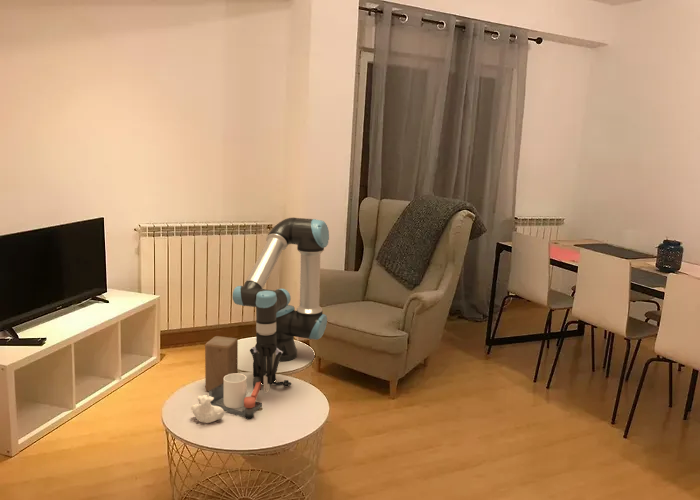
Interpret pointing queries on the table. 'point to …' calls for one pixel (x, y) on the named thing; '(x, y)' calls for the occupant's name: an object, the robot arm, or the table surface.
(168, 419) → the table surface
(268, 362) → the robot arm
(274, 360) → the milk frother
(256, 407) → the metal tray
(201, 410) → the bust
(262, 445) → the table surface
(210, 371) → the wooden block
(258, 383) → the lever
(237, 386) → the mug
